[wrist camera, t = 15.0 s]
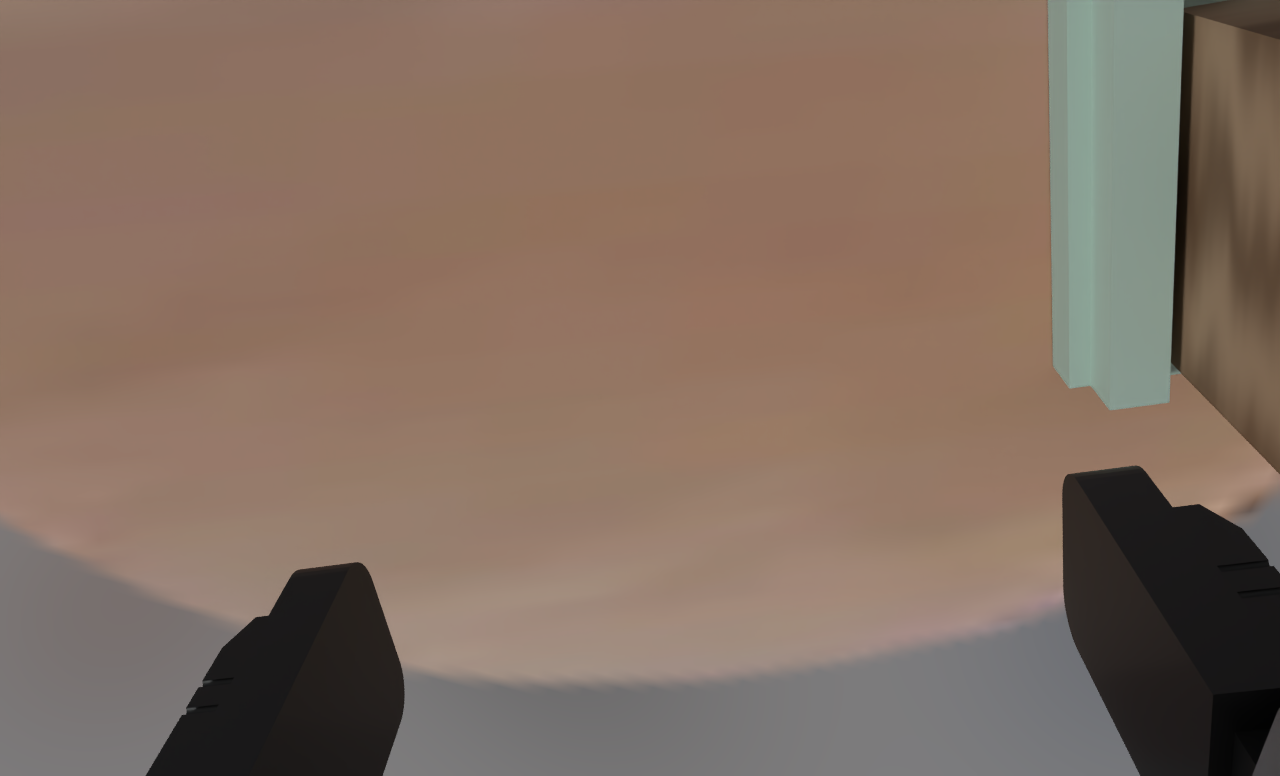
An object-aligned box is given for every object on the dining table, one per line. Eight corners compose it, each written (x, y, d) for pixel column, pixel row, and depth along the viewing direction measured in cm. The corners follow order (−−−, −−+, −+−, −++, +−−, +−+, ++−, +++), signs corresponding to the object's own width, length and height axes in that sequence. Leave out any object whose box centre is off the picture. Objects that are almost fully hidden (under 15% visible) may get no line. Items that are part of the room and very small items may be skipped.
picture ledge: (1047, -18, 36) (1088, -5, 32) (1369, -74, 35) (1448, -67, 31) (1053, 365, 42) (1087, 413, 38) (1328, 328, 40) (1390, 373, 37)
